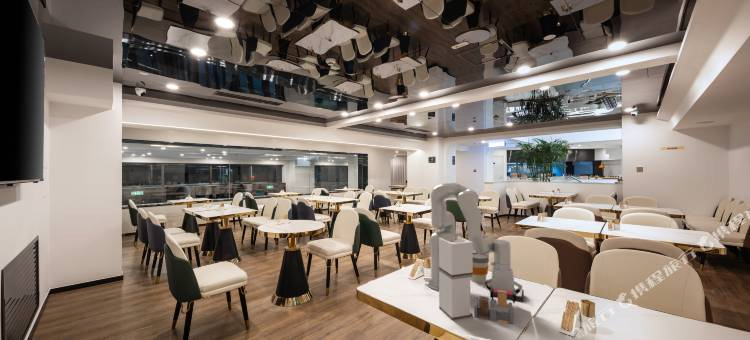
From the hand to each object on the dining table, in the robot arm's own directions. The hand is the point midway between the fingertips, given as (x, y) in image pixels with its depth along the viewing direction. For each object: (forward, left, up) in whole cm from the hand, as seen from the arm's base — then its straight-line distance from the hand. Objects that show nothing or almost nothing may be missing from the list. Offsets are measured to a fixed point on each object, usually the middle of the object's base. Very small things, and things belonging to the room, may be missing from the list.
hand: (503, 300), depth 145 cm
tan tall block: (0, 0, -3) cm, 3 cm away
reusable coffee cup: (-13, +31, -3) cm, 34 cm away
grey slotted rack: (-4, -13, -3) cm, 14 cm away
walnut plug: (-8, -13, -2) cm, 15 cm away
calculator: (+2, +13, -4) cm, 14 cm away
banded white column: (-21, -16, -3) cm, 27 cm away
